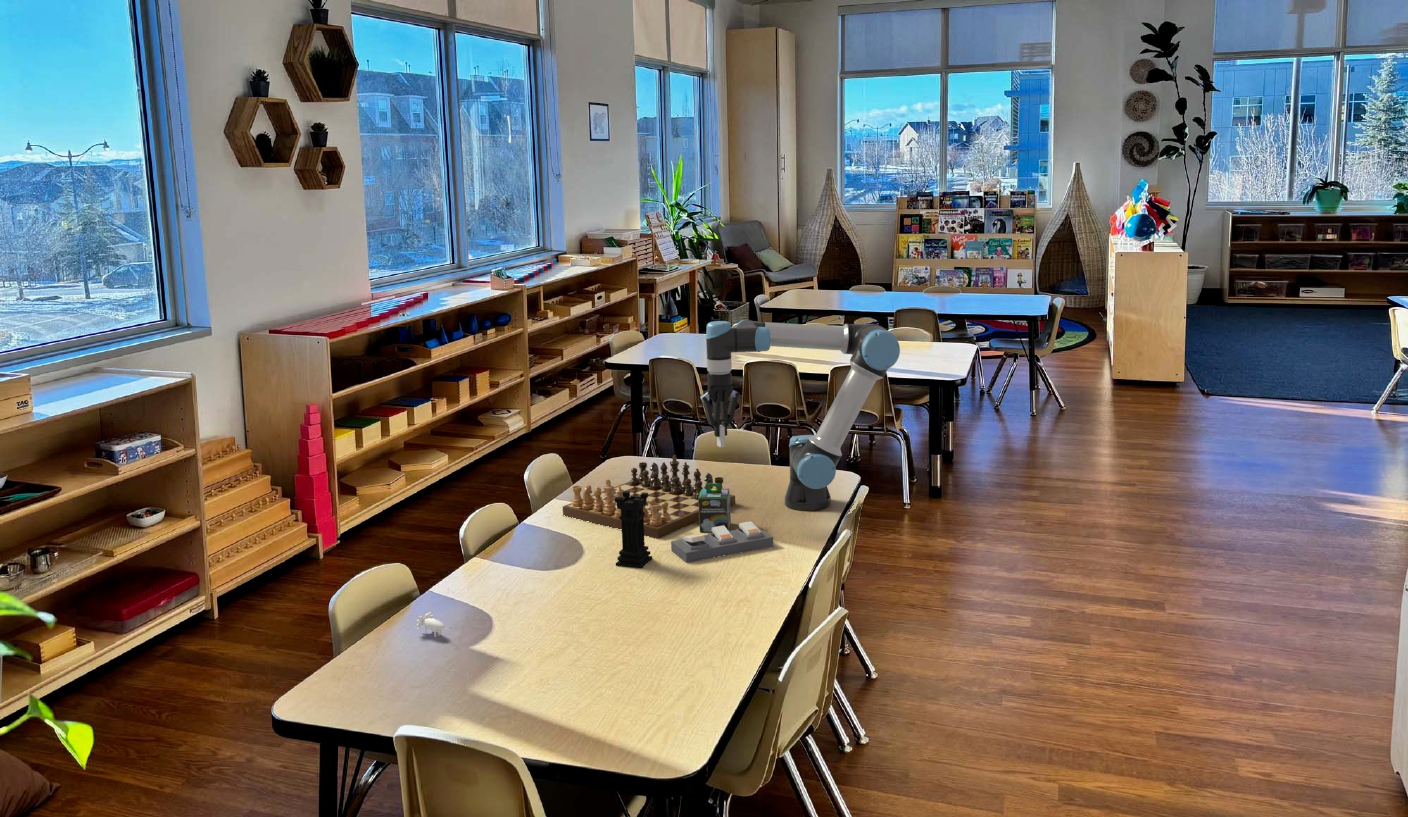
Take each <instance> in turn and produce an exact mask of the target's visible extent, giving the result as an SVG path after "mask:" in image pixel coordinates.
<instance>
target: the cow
mask: <svg viewBox="0 0 1408 817" xmlns="http://www.w3.org/2000/svg"><path fill="white" fill-rule="evenodd" d="M432 613H433V612H432V610H430V611H429V612H427V613H426V614H425V615H419V616H416V617H417V620H415V622H417V624H415V626H417V628H416V630H419V629H420V628H421V626H424V629H425V630H424V631H425V635H426V634H427V635H428V629H429V630H431V631H432V632H433V634H434V637H436V638H437V631H439V635H440V634H442V635H443V633H442V631H443V630H446V629H452V626H449V627H445V624H444V623H443V622H442V621H441V620H439V619H435V618H434V617H433V616H434V614H432ZM432 632H431V633H432Z"/></svg>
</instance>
